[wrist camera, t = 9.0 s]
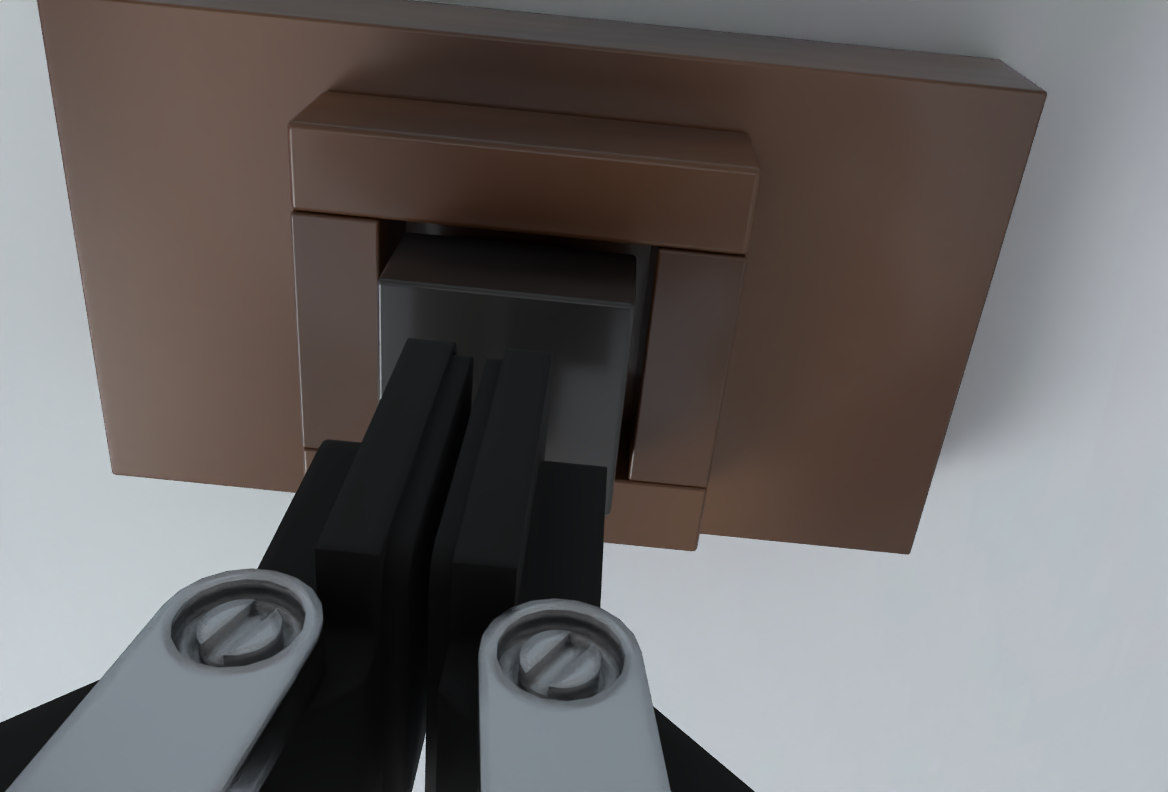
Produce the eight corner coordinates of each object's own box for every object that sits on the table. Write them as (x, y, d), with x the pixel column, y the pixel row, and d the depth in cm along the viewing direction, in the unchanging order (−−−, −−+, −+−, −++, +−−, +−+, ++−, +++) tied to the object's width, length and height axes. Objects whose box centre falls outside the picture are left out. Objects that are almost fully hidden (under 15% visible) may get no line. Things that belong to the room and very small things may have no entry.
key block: (1001, 59, 16) (1099, 125, 13) (885, 485, 20) (935, 625, 17) (105, -31, 16) (-42, 11, 13) (162, 412, 20) (60, 537, 17)
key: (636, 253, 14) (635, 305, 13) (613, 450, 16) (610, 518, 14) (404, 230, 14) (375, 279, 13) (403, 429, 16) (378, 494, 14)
